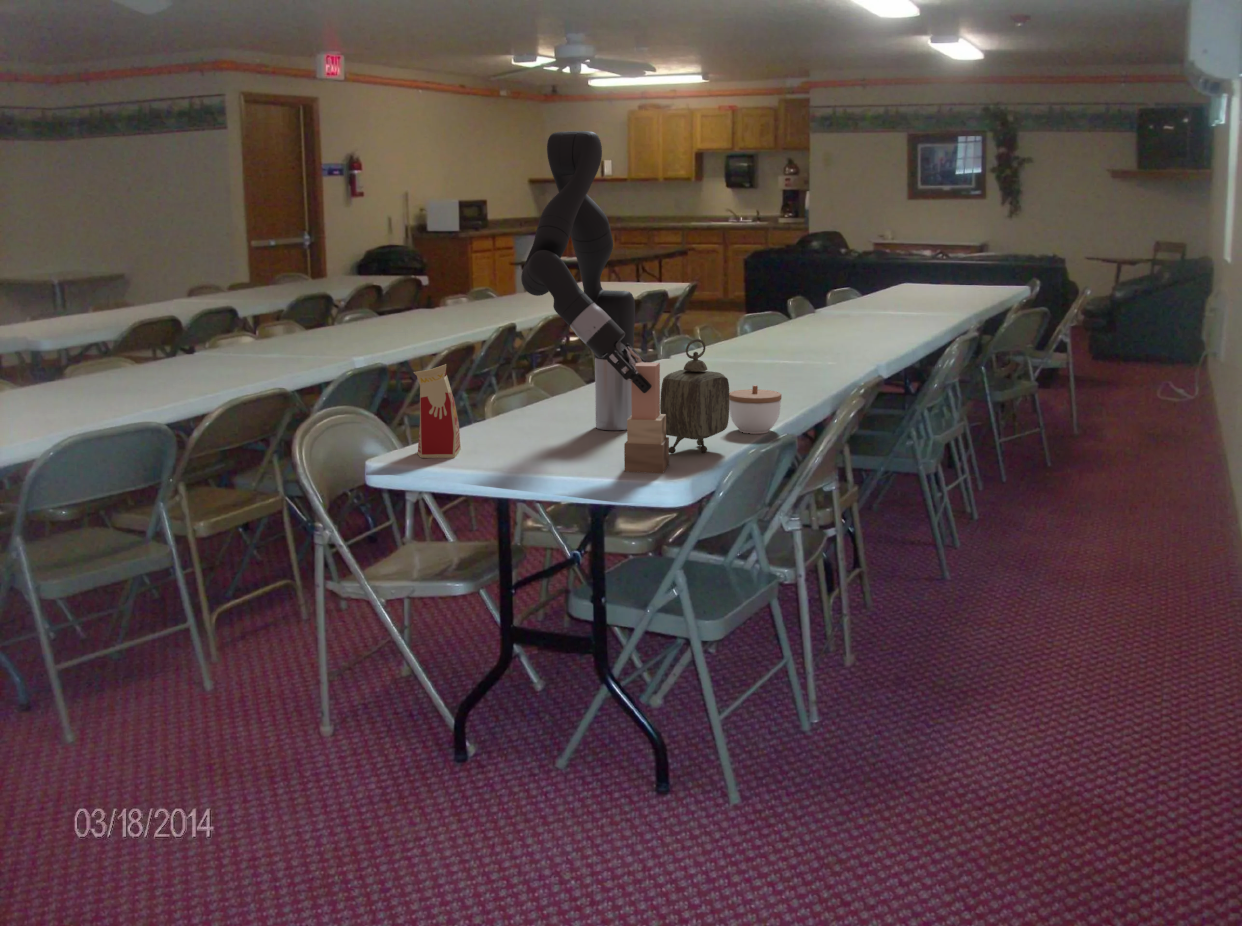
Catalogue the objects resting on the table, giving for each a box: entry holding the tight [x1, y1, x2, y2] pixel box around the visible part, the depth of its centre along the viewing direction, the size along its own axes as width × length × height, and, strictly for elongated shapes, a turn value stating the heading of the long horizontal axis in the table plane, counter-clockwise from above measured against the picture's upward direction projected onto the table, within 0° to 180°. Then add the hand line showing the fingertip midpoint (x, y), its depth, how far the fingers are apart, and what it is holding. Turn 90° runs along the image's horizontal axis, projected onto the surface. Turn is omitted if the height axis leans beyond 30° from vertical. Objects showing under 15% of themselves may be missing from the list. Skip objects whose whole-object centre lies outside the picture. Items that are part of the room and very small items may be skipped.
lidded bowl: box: [729, 384, 782, 435], centre depth 288 cm, size 13×13×11 cm
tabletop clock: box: [660, 338, 730, 454], centre depth 264 cm, size 14×9×25 cm, turn 141°
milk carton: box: [413, 363, 462, 459], centre depth 265 cm, size 9×9×20 cm
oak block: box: [626, 413, 667, 445], centre depth 250 cm, size 7×7×5 cm
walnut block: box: [623, 436, 670, 474], centre depth 251 cm, size 8×8×6 cm
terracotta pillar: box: [631, 362, 661, 420], centre depth 248 cm, size 5×5×11 cm
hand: (652, 386), depth 248 cm, fingers open, 8 cm apart
